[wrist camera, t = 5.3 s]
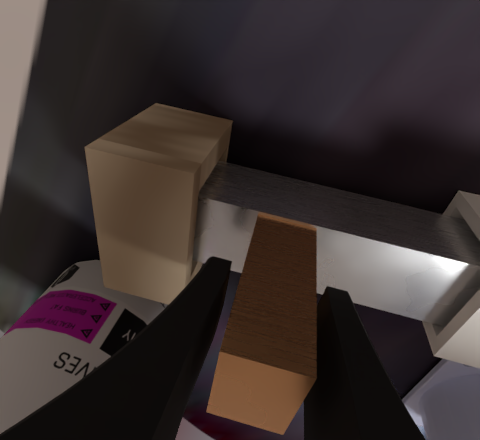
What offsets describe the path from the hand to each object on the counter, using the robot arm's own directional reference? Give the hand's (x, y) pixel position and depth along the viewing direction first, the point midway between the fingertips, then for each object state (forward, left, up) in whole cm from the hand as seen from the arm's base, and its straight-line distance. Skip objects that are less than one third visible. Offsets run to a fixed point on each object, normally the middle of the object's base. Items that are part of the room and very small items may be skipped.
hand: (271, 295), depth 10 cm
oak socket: (+5, 0, -6) cm, 8 cm away
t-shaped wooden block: (-2, 0, -6) cm, 6 cm away
